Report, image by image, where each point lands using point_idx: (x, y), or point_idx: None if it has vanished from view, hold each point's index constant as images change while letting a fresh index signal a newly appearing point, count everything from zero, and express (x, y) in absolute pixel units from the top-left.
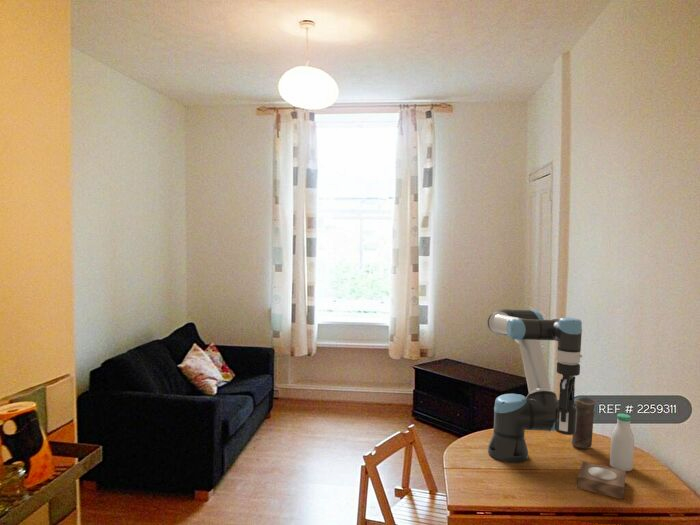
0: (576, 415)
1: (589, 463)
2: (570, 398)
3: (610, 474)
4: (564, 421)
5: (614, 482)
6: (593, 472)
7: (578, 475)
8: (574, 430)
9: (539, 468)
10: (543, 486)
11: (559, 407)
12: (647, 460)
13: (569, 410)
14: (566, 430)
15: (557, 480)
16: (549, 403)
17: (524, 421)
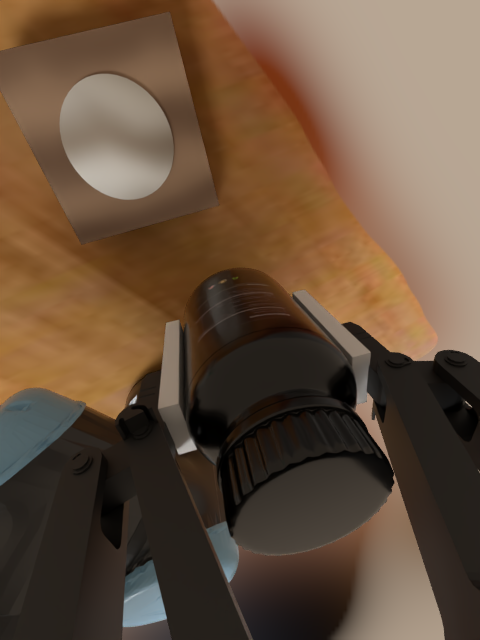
0: (257, 313)
1: (72, 220)
2: (297, 494)
3: (101, 107)
4: (355, 327)
5: (155, 68)
6: (146, 173)
7: (209, 207)
8: (251, 272)
9: (183, 327)
10: (274, 271)
11: (473, 416)
12: None
13: (347, 366)
14: (307, 295)
15: (213, 263)
16: (32, 531)
17: (185, 466)
